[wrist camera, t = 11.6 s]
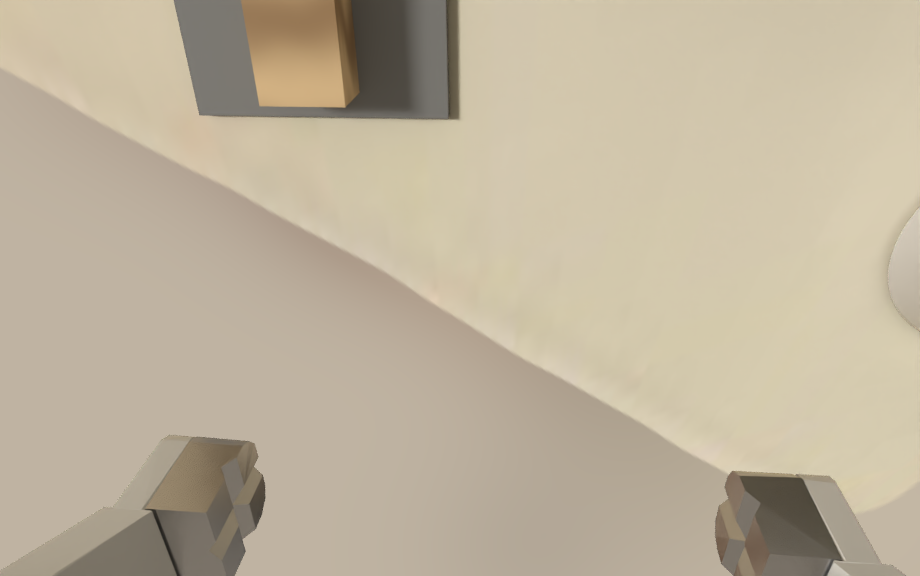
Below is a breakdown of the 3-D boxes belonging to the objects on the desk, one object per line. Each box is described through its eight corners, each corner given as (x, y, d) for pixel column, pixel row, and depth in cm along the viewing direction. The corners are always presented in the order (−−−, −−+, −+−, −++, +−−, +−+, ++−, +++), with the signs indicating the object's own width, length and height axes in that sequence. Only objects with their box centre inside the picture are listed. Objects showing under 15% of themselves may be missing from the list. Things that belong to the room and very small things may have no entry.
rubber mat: (444, -112, 33) (443, -113, 32) (449, 116, 39) (448, 118, 38) (155, -107, 34) (149, -108, 33) (203, 112, 40) (199, 115, 40)
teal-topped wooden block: (359, 92, 38) (345, 107, 35) (280, 91, 38) (259, 106, 35) (344, -79, 33) (326, -79, 30) (253, -77, 34) (226, -77, 31)
